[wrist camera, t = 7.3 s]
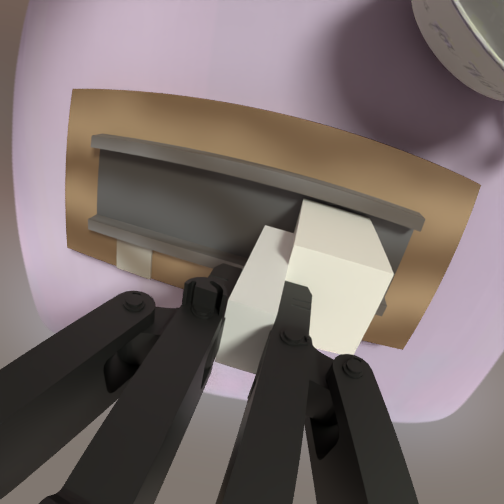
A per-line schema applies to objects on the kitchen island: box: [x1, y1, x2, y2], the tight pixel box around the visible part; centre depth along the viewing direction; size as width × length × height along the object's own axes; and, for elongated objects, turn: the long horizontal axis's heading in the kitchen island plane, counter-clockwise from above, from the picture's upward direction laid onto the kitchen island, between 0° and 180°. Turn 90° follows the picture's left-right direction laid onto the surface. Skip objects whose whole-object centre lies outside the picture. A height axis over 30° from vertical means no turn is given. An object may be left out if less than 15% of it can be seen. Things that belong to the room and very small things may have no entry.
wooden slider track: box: [65, 89, 481, 350], centre depth 19 cm, size 13×28×3 cm, turn 78°
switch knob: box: [285, 198, 394, 355], centre depth 15 cm, size 4×4×7 cm
